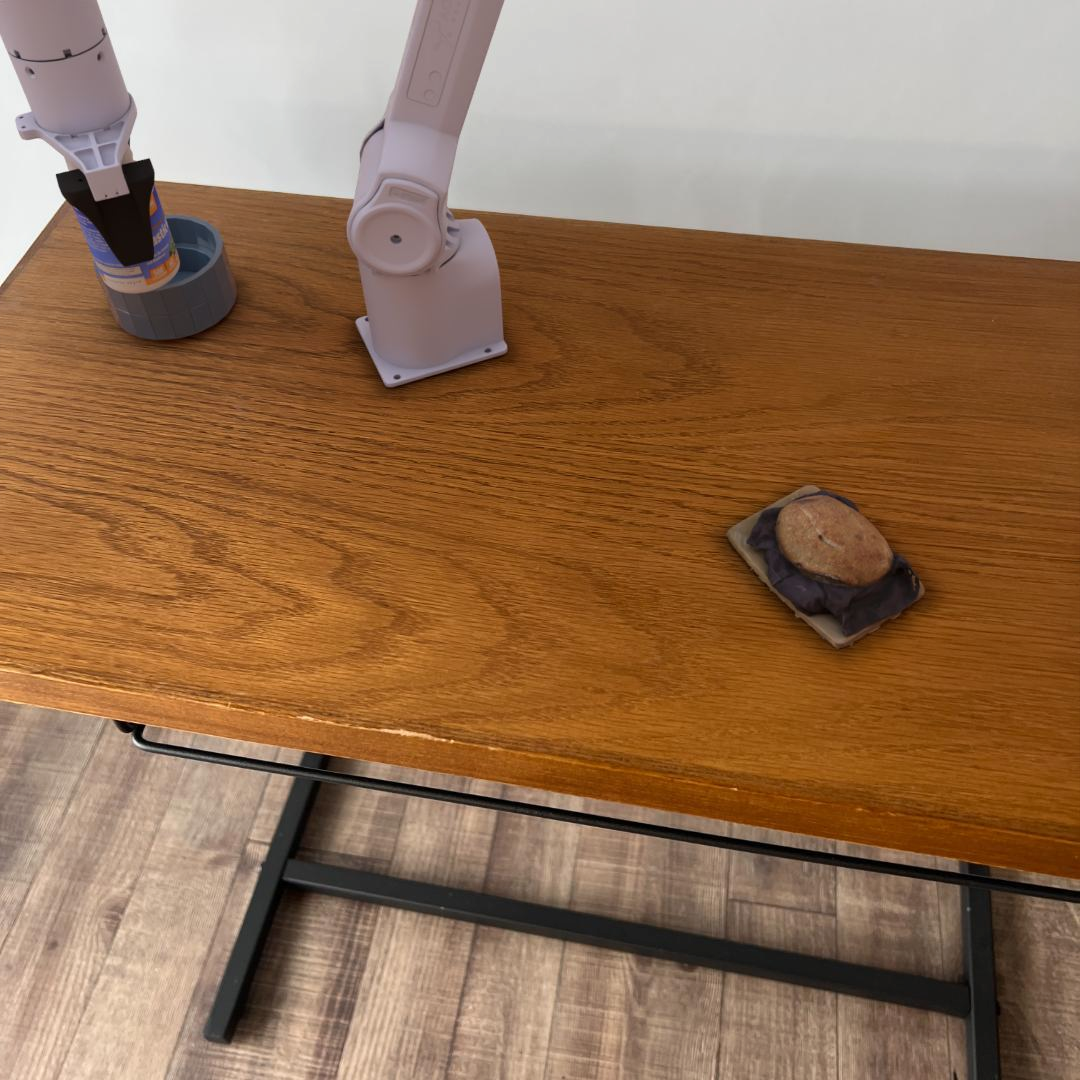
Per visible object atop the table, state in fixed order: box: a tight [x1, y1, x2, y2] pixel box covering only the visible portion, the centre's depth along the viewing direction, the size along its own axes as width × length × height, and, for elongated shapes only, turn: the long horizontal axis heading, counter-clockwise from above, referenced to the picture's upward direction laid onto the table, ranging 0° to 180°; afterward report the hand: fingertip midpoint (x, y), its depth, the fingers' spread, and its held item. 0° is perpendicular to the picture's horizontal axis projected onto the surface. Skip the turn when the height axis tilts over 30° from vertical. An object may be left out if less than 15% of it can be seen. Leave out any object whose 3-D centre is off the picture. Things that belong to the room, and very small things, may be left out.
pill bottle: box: [63, 144, 180, 294], centre depth 72 cm, size 5×5×10 cm
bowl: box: [92, 213, 238, 341], centre depth 82 cm, size 9×9×5 cm
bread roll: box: [725, 484, 926, 650], centre depth 66 cm, size 11×8×4 cm
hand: (130, 235), depth 73 cm, fingers closed on pill bottle, 5 cm apart
